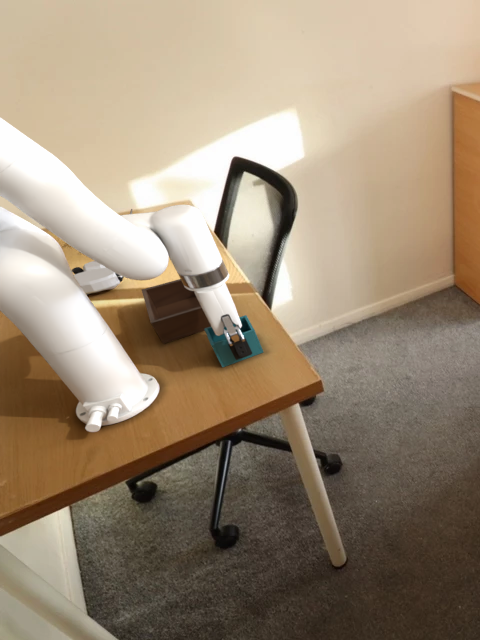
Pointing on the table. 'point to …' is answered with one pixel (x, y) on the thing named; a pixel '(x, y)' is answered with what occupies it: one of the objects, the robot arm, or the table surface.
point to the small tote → (222, 343)
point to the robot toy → (96, 277)
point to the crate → (174, 311)
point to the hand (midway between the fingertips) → (238, 344)
